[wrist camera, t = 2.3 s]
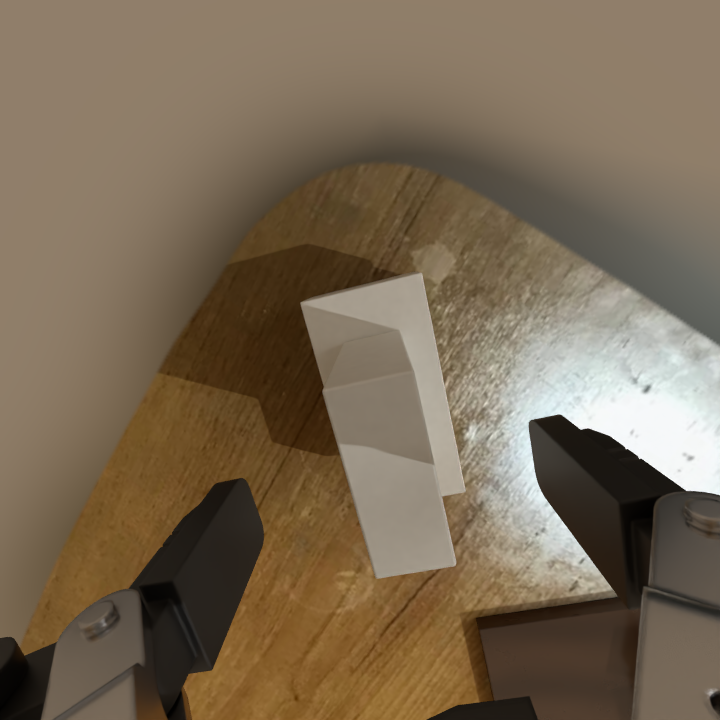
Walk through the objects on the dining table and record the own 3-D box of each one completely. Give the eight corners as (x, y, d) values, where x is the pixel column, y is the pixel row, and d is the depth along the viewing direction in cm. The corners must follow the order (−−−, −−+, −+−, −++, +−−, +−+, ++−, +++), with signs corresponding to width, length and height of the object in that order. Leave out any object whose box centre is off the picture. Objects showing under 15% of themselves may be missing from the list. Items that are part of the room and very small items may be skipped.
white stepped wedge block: (362, 466, 21) (349, 639, 11) (315, 294, 19) (248, 326, 9) (449, 449, 20) (513, 615, 11) (412, 270, 18) (452, 276, 8)
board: (476, 617, 23) (479, 629, 22) (747, 578, 21) (761, 589, 21) (504, 748, 26) (507, 763, 25) (746, 722, 24) (758, 737, 23)
